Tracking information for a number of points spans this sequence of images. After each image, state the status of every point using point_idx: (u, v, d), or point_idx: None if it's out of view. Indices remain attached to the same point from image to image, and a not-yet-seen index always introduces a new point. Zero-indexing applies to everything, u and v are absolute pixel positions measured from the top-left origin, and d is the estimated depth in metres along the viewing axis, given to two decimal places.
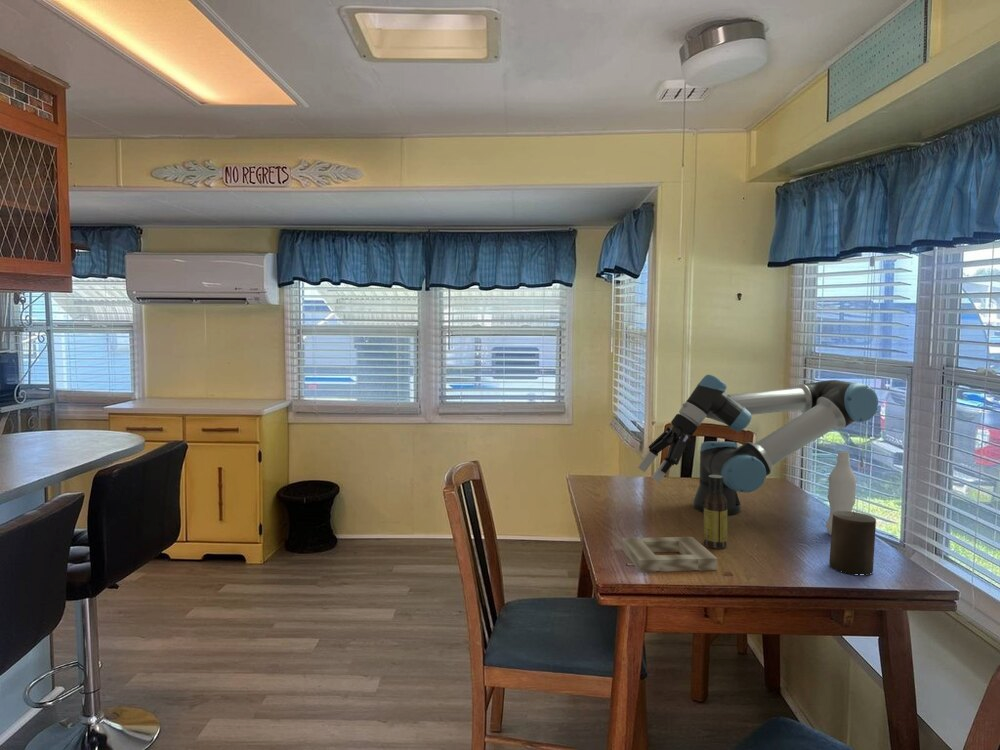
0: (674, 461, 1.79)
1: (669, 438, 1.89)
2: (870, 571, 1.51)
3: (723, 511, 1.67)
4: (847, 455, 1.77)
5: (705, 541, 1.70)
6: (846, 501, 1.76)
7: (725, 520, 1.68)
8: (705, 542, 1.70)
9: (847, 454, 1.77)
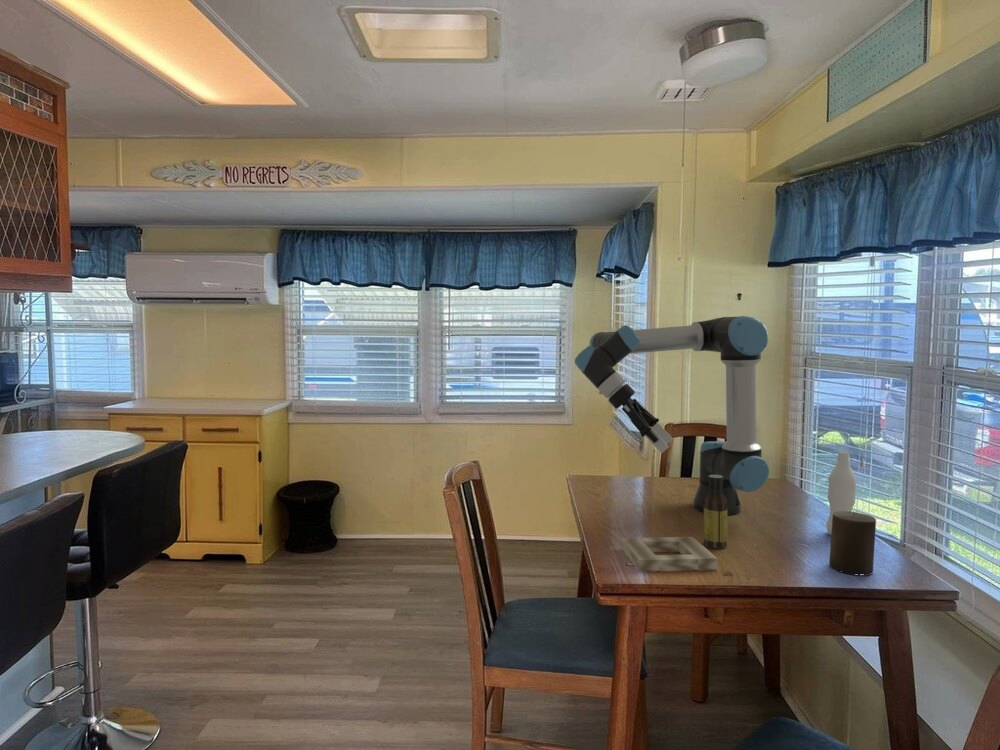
0: (644, 430, 1.67)
1: None
2: (870, 571, 1.51)
3: (723, 511, 1.67)
4: (847, 455, 1.77)
5: (705, 541, 1.70)
6: (846, 501, 1.76)
7: (725, 520, 1.68)
8: (705, 542, 1.70)
9: (847, 454, 1.77)
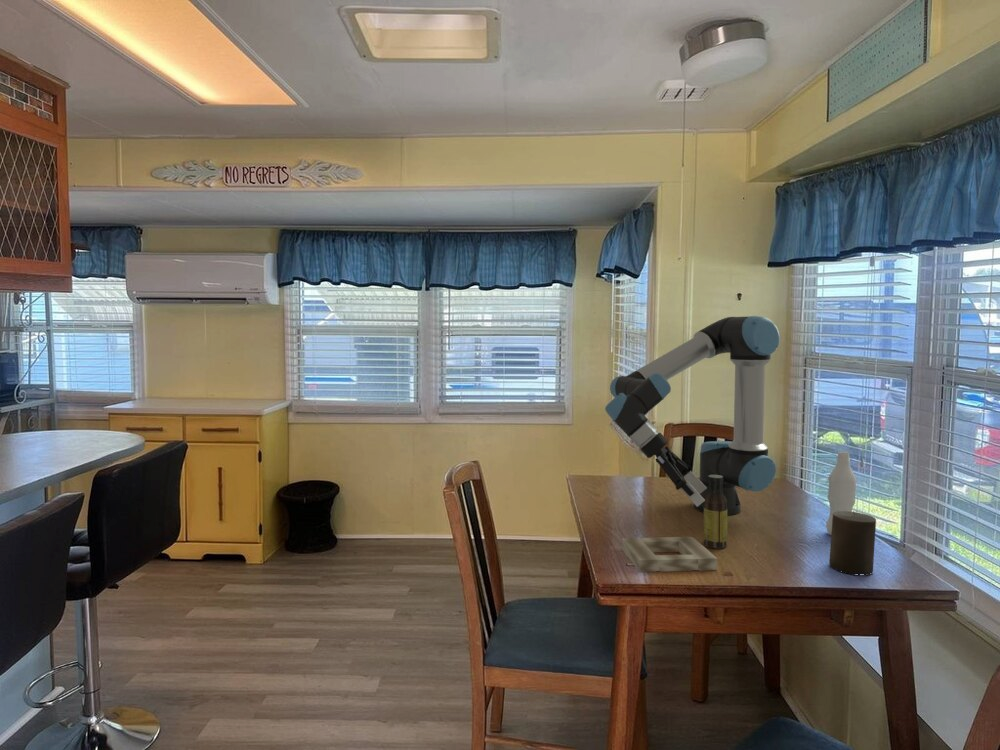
0: (679, 484, 1.62)
1: None
2: (870, 571, 1.51)
3: (723, 511, 1.67)
4: (847, 455, 1.77)
5: (705, 541, 1.70)
6: (846, 501, 1.76)
7: (725, 520, 1.68)
8: (705, 542, 1.70)
9: (847, 454, 1.77)
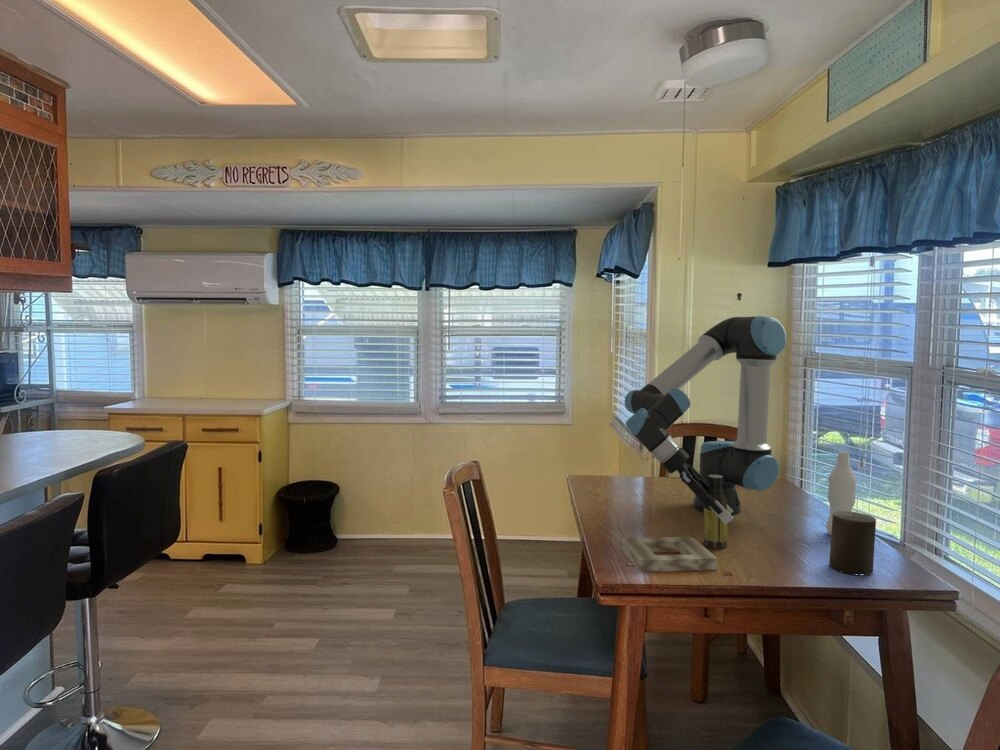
0: (708, 502, 1.64)
1: None
2: (870, 571, 1.51)
3: None
4: (847, 455, 1.77)
5: (705, 541, 1.70)
6: (846, 501, 1.76)
7: None
8: (705, 542, 1.70)
9: (847, 454, 1.77)
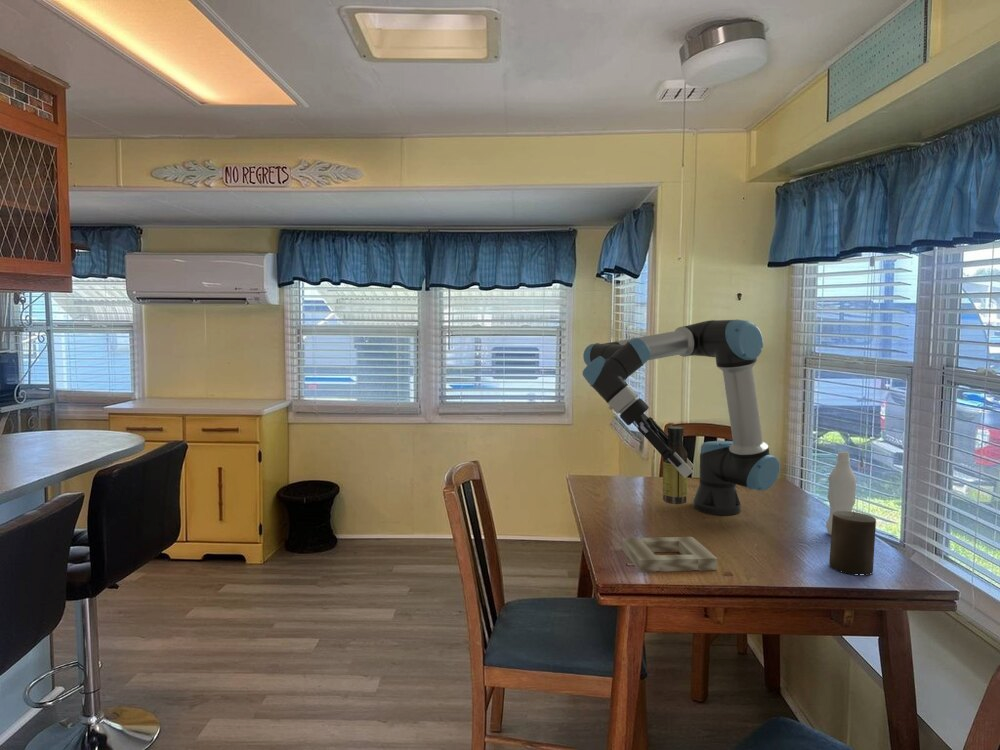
0: (666, 454, 1.54)
1: None
2: (870, 571, 1.51)
3: None
4: (847, 455, 1.77)
5: (664, 497, 1.60)
6: (846, 501, 1.76)
7: None
8: (664, 498, 1.60)
9: (847, 454, 1.77)
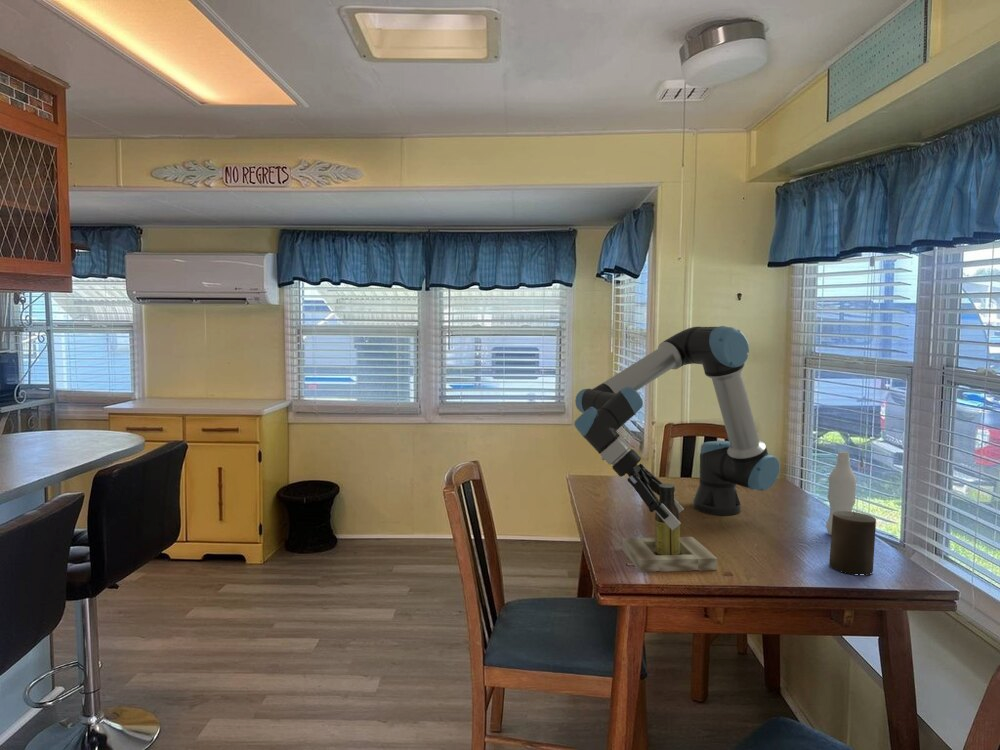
0: (653, 506, 1.51)
1: None
2: (870, 571, 1.51)
3: None
4: (847, 455, 1.77)
5: (657, 554, 1.60)
6: (846, 501, 1.76)
7: (677, 532, 1.57)
8: None
9: (847, 454, 1.77)
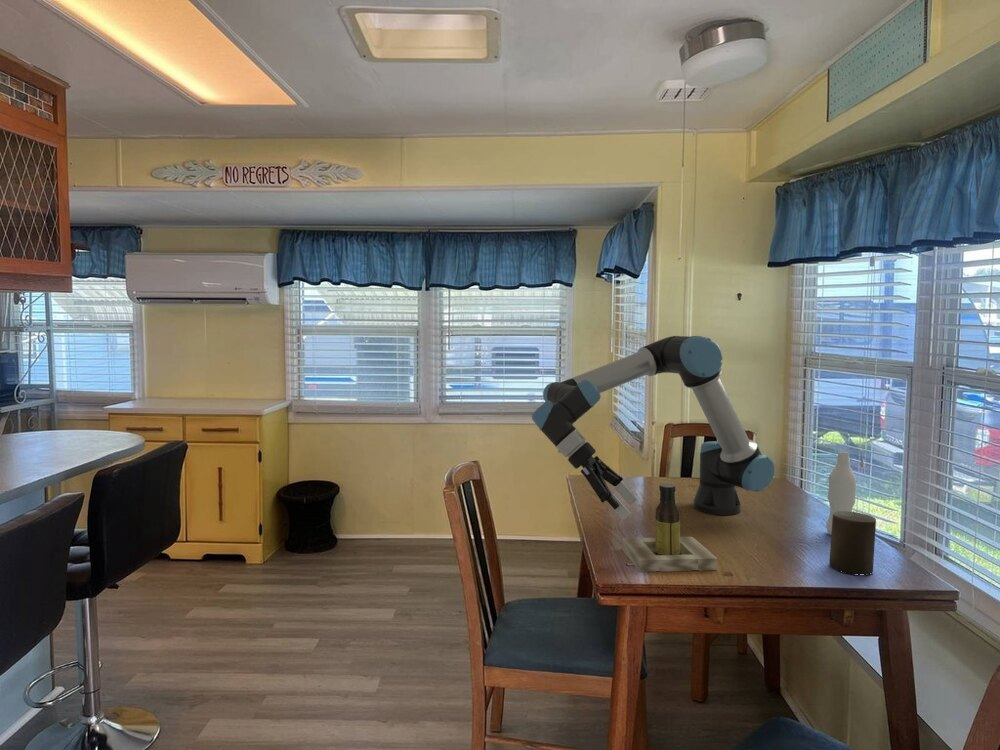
0: (603, 496, 1.55)
1: None
2: (870, 571, 1.51)
3: (675, 522, 1.57)
4: (847, 455, 1.77)
5: (657, 554, 1.60)
6: (846, 501, 1.76)
7: (677, 532, 1.57)
8: None
9: (847, 454, 1.77)
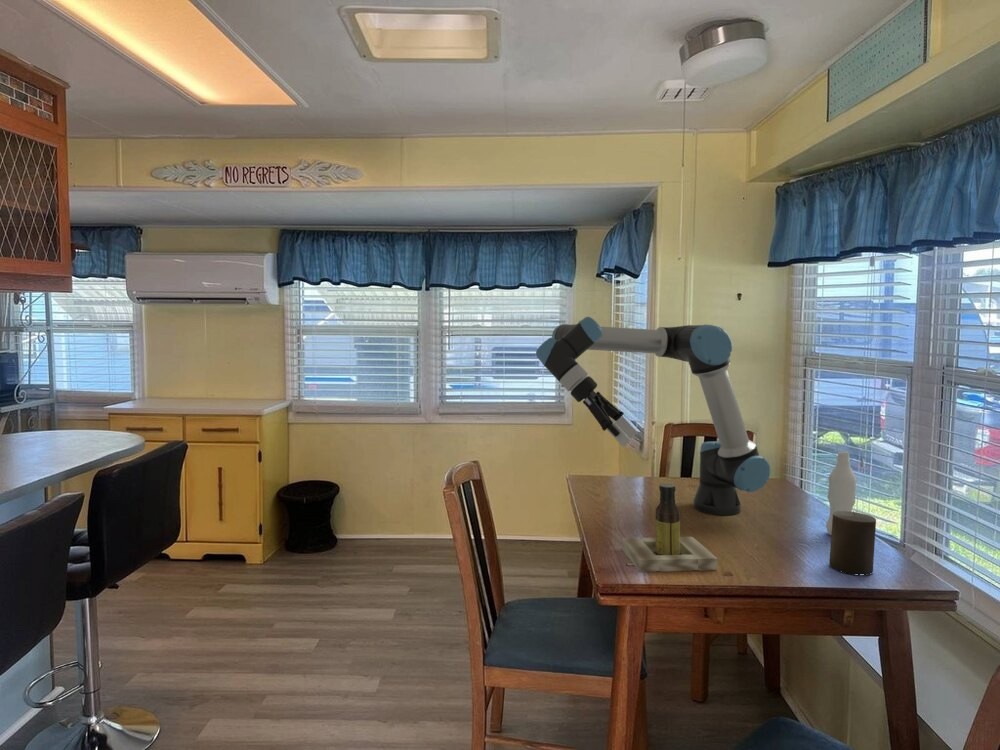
0: (604, 424, 1.62)
1: None
2: (870, 571, 1.51)
3: (675, 522, 1.57)
4: (847, 455, 1.77)
5: (657, 554, 1.60)
6: (846, 501, 1.76)
7: (677, 532, 1.57)
8: None
9: (847, 454, 1.77)
